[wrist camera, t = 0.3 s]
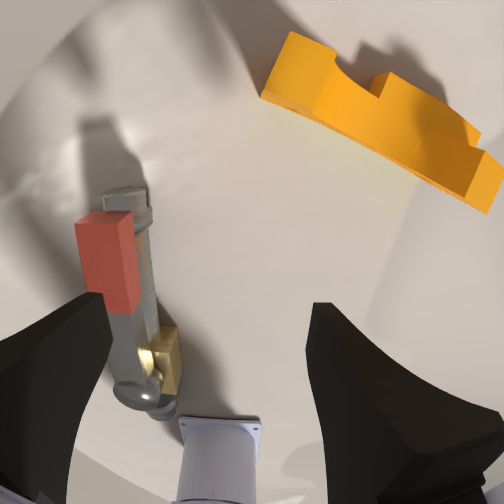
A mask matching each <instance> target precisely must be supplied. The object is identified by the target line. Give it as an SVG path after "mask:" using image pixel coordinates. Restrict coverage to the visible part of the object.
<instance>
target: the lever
mask: <svg viewBox="0 0 504 504" xmlns="http://www.w3.org/2000/svg"><path fill="white" fill-rule="evenodd" d="M74 225H75V231H76V237H77V243H78V248H79V254H80V259H81V264H82V269H83V274H84V278H85V283H86V287H87V291H88V292H97V293H103V297H104V302H105V306H106V310H107V315H108V319H109V323H110V327H111V331H112V334H113V338H114V339H113V343H112V346H111V349H110V353H109V356H108V361H109V364H110V367H111V370H112V373H113V376H114V379H115V381H116V382H115V384H114V387H113V393H114V395H115V397H116V398H117V399H118V400H119V401H120V402H121V403H122V404H124V405H125V406H127V407H129V408H132V409H135V410H139V411H151V410H153V409H155V408H156V407H157V406H158V402H159V398H160V395H161V391H162V387H163V384H164V378H163V376H162V374H161V373H160V371H159V370H158V369H157V368H155V367H154V363H153V359H152V354H151V349H150V344H149V339H148V334H147V329H146V323H145V318H144V312H143V306H142V300H141V296H142V290H141V284H140V277H139V269H138V262H137V254H136V245H135V236H134V226H133V216H132V211H91V212H90V213H88V214H87V215H86V216H84V217H83V218H81V219H80V220H79V221H77V222H76V223H75V224H74Z"/></svg>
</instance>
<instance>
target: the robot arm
mask: <svg viewBox="0 0 504 504" xmlns="http://www.w3.org/2000/svg"><path fill="white" fill-rule="evenodd" d="M113 339H114V338H113V334H112V331H111V327H110V323H109V319H108V315H107V310H106V306H105V302H104V297H103V293H97V292H86V293H84V294H82V295H80V296H78V297H77V298H75V299H73V300H71V301H70V302H68V303H66V304H65V305H63V306H62V307H60V308H58V309H57V310H55V311H53V312H52V313H50V314H49V315H47V316H45V317H44V318H42V319H40V320H39V321H37V322H35V323H33V324H32V325H30V326H28V327H27V328H25V329H23V330H21V331H20V332H18V333H16V334H14V335H12V336H10V337H8V338H6V339H3V340H1V341H0V504H66V494H67V482H68V474H69V467H70V462H71V456H72V451H73V447H74V443H75V438H76V435H77V431H78V428H79V424H80V421H81V417H82V415H83V412H84V410H85V407H86V405H87V403H88V401H89V398H90V396H91V394H92V392H93V390H94V388H95V385H96V383H97V381H98V379H99V377H100V375H101V373H102V370H103V368H104V366H105V364H106V362H107V359H108V356H109V353H110V349H111V346H112V343H113ZM305 350H306V360H307V369H308V376H309V380H310V384H311V389H312V393H313V397H314V401H315V405H316V409H317V413H318V417H319V422H320V426H321V431H322V436H323V443H324V453H325V463H326V476H327V490H328V491H327V492H328V504H504V482H503V483H501V484H499V485H497V486H495V487H494V488H492V489H490V490H489V491H487V492H486V493H483V491H482V488H481V486H483V485H484V484H485V481H486V480H485V478H484V476H483V472H484V471H485V470H486V469H487V468H488V467H489V466H490V465H491V464H492V463H493V462H494V461H495V460H496V459H497V458H498V457H499V456H500V455H501V454H502V453H503V452H504V421H503V419H502V417H501V415H500V414H499V412H497V411H494V410H491V409H488V408H485V407H482V406H478V405H476V404H472V403H470V402H467V401H465V400H462V399H460V398H458V397H456V396H453V395H451V394H449V393H447V392H445V391H443V390H441V389H439V388H437V387H435V386H433V385H431V384H430V383H428V382H426V381H424V380H423V379H421V378H419V377H418V376H416V375H414V374H413V373H411V372H410V371H408V370H407V369H406V368H404V367H403V366H401V365H400V364H398V363H397V362H396V361H394V360H393V359H392V358H390V357H389V356H388V355H387V354H385V353H384V352H383V351H382V350H381V349H379V348H378V347H377V346H376V345H375V344H374V343H373V342H371V341H370V340H369V339H368V338H367V337H366V336H365V335H364V334H363V333H362V332H361V331H360V330H359V329H357V328H356V327H355V326H354V325H353V324H352V323H351V322H350V321H349V320H348V319H347V318H346V317H345V316H344V315H343V314H342V313H341V312H340V311H339V309H338V308H336V307H335V306H334V305H333V304H332V303H313V308H312V315H311V321H310V327H309V332H308V338H307V344H306V349H305ZM178 423H179V427H180V431H181V435H182V439H183V443H184V452H183V459H182V465H181V472H180V478H179V485H178V492H177V499H176V501H172V503H171V504H256V464H257V459H258V451H259V443H260V434H261V422H260V421H251V420H224V419H208V418H195V417H184V416H181V417H179V419H178Z"/></svg>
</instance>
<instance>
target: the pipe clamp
mask: <svg viewBox="0 0 504 504" xmlns="http://www.w3.org/2000/svg"><path fill="white" fill-rule="evenodd" d="M337 53H338V52H337V51H335V50H333V49H330V48H328V47H326V46H324V45H322V44H320V43H318V42H315V41H313V40H311V39H309V38H306V37H304V36H302V35H299V34H297V33H294V32H292V31H290V32H289V34H288V36H287V39H286V41H285V43H284V45H283V47H282V49H281V51H280V54H279V56H278V58H277V60H276V62H275V64H274V67H273V69H272V71H271V73H270V76H269V78H268V80H267V82H266V85H265V87H264V89H263V91H262V94H261V96H260V98H261V99H263V100H266V101H268V102H271V103H273V104H276V105H278V106H281V107H283V108H285V109H288V110H290V111H292V112H295V113H297V114H299V115H302V116H304V117H306V118H308V119H310V120H313V121H315V122H317V123H319V124H321V125H323V126H325V127H328V128H330V129H332V130H334V131H336V132H338V133H340V134H342V135H344V136H346V137H348V138H350V139H352V140H354V141H356V142H357V143H359V144H361V145H363V146H365V147H367V148H369V149H371V150H372V151H374V152H376V153H378V154H380V155H382V156H383V157H385V158H387V159H389V160H390V161H392V162H394V163H396V164H397V165H399V166H401V167H402V168H404V169H406V170H407V171H409V172H411V173H412V174H414V175H416V176H417V177H419V178H420V179H422V180H423V181H425V182H427V183H428V184H430V185H432V186H434V187H436V188H438V189H440V190H442V191H444V192H446V193H448V194H450V195H452V196H454V197H456V198H457V199H459V200H461V201H463V202H465V203H466V204H468V205H470V206H472V207H474V208H475V209H477V210H479V211H481V212H482V213H484V214H486V215H487V213H488V211H489V209H490V207H491V205H492V202H493V201H494V198H495V196H496V194H497V192H498V189H499V186H500V185H501V182H502V180H503V178H504V168H503V167H502V166H501V165H500V164H499V163H498V162H497V161H496V160H495V159H494V158H492V157H491V156H490V155H489V154H488V153H487V152H486V151H484V150H481V149H478V148H476V145H477V143H478V140H479V138H480V135H481V133H480V132H479V131H478V130H477V129H476V128H475V127H473V126H472V125H471V124H470V123H469V122H468V121H466V120H465V119H464V118H463V117H461V116H460V115H459V114H458V113H457V112H455V111H454V110H453V109H451V108H450V107H449V106H448V105H446V104H445V103H444V102H442V101H441V100H440V99H438V98H436V97H434V96H432V95H430V94H428V93H426V92H424V91H422V90H420V89H419V88H417V87H415V86H413V85H411V84H410V83H408V82H406V81H405V80H403V79H401V78H400V77H398V76H396V75H395V74H393V73H392V72H387V73H383V74H379V75H375V77H374V79H373V82H372V84H371V86H370V89H369V91H366V90H365V89H363V88H362V87H360V86H359V85H358V84H356V83H355V82H354V81H352V80H351V79H350V78H349V77H347V76H346V75H345V74H344V73H343V72H342V71H341V70H340V69H339V67H338V66H337V64H336V63H335V58H336V55H337Z"/></svg>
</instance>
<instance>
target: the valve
mask: <svg viewBox="0 0 504 504" xmlns="http://www.w3.org/2000/svg"><path fill="white" fill-rule="evenodd" d="M102 202H103V210H102V211H132V216H133V226H134V236H135V245H136V254H137V262H138V269H139V277H140V284H141V290H142V296H141V300H142V306H143V312H144V318H145V323H146V329H147V334H148V339H149V344H150V349H151V354H152V359H153V363H154V367H155V368H157V369H158V370H159V371H160V373H161V374H162V376H163V378H164V384H163V387H162V391H161V395H160V398H159V402H158V406H157V407H156V408H155V409H153V410H151V411H145V412H146V413H148V415H149V416H150V417H151V418H152V419H154V420H157V421H165V420H168V419H170V418H171V417H173V416H174V414H175V412H176V407H177V403H178V402H177V396H176V395H177V391H178V387H179V383H180V378H181V374H182V369H183V365H182V358H181V351H180V344H179V336H178V328H177V326H167V325H160V322H159V316H158V309H157V302H156V294H155V287H154V279H153V270H152V261H151V252H150V241H149V230H148V227H149V226H150V225H151V224H152V223H153V217H152V207H151V206H150V205H147V203H146V190H145V189H144V188H141V187H124V188H117V189H113V190H109V191H107V192H104V193H103V194H102Z"/></svg>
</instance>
